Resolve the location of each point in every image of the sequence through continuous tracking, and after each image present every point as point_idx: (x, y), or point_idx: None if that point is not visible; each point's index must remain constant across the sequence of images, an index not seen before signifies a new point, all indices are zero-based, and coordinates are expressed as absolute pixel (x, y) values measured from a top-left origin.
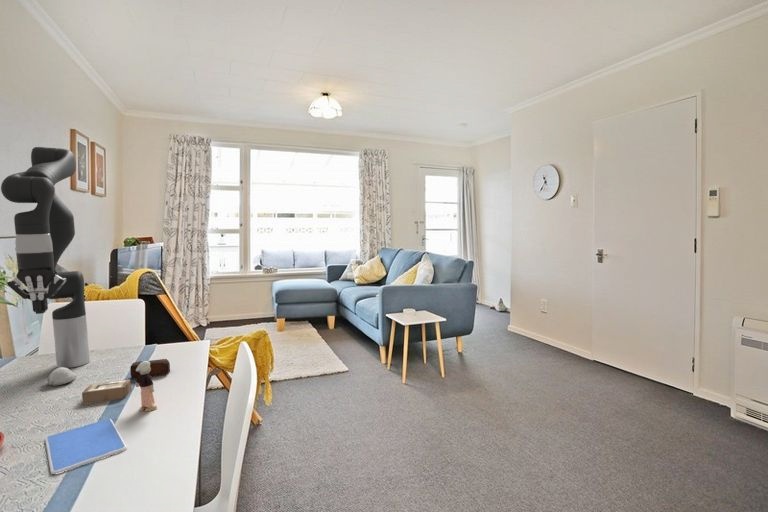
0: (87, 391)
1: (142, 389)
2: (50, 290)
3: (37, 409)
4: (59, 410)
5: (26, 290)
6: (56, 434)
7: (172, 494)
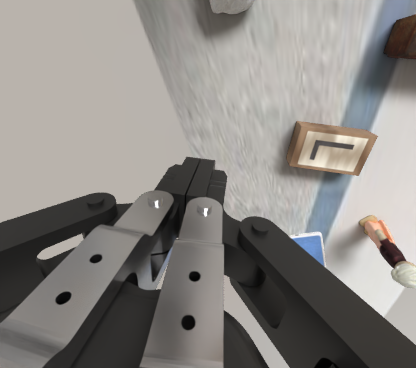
0: (298, 164)
1: (379, 250)
2: (261, 317)
3: (223, 142)
4: (256, 164)
5: (56, 242)
6: None
7: None
